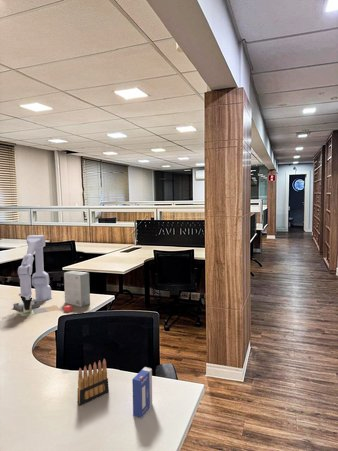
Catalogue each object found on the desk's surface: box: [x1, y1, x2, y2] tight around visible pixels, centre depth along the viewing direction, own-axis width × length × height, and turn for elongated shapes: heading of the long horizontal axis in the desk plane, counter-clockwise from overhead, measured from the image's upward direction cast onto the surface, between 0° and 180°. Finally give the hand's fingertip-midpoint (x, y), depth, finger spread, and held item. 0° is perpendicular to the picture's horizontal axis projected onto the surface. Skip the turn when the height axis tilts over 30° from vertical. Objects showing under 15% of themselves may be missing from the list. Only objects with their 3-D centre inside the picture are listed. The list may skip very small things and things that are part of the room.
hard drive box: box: [63, 270, 91, 308], centre depth 204 cm, size 16×8×20 cm, turn 58°
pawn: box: [23, 303, 32, 313], centre depth 188 cm, size 4×4×5 cm
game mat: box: [19, 304, 60, 317], centre depth 192 cm, size 21×9×1 cm, turn 120°
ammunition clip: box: [76, 358, 110, 407], centre depth 107 cm, size 11×2×12 cm, turn 132°
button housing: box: [12, 299, 41, 312], centre depth 198 cm, size 11×11×2 cm
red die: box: [63, 304, 73, 313], centre depth 190 cm, size 3×3×3 cm
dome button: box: [17, 300, 35, 307], centre depth 198 cm, size 9×9×2 cm
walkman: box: [131, 366, 153, 419], centre depth 100 cm, size 8×3×12 cm, turn 155°
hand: (26, 308), depth 188 cm, fingers closed on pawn, 4 cm apart
